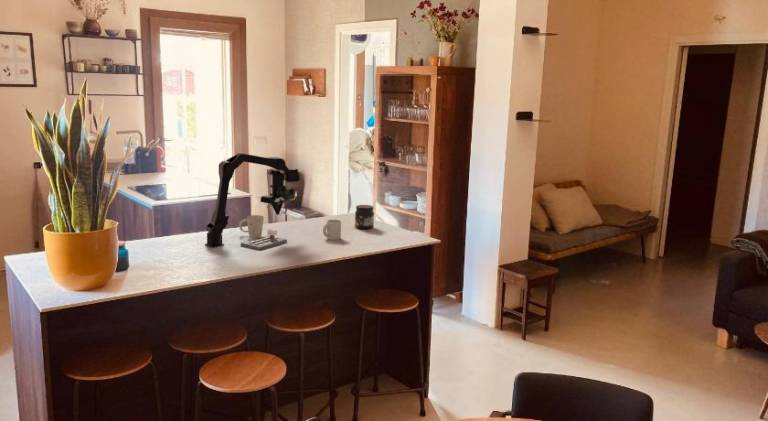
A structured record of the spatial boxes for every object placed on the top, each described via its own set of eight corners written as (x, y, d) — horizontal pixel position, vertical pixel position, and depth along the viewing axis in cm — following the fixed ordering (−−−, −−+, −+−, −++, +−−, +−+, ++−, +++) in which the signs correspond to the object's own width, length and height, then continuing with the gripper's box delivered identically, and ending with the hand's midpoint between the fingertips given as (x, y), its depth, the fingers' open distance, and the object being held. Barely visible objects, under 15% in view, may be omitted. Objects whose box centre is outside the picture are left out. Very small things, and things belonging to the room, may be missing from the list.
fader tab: (274, 239, 293) (274, 230, 292) (267, 238, 295) (267, 229, 294) (277, 239, 295) (277, 229, 294) (270, 237, 297) (270, 228, 296)
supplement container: (353, 225, 337) (354, 204, 335) (371, 225, 339) (372, 204, 337) (355, 230, 327) (356, 208, 325) (375, 230, 329) (376, 208, 326)
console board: (259, 250, 280) (259, 245, 279) (240, 245, 286) (240, 241, 286) (286, 242, 296) (287, 238, 295) (268, 238, 302) (268, 234, 301)
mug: (261, 238, 300) (261, 219, 298) (236, 237, 301) (236, 217, 299) (265, 234, 309) (265, 215, 307) (240, 233, 309) (240, 214, 307)
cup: (343, 238, 307) (344, 221, 305) (326, 241, 301) (327, 223, 299) (335, 235, 313) (335, 219, 311) (319, 238, 306) (319, 221, 305)
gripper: (277, 187, 283) (277, 220, 286) (303, 183, 299) (302, 214, 302) (259, 184, 289) (259, 216, 292) (285, 180, 304) (285, 210, 308)
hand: (277, 214), depth 298 cm, fingers closed
